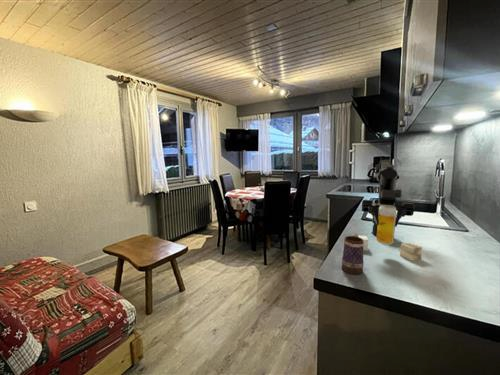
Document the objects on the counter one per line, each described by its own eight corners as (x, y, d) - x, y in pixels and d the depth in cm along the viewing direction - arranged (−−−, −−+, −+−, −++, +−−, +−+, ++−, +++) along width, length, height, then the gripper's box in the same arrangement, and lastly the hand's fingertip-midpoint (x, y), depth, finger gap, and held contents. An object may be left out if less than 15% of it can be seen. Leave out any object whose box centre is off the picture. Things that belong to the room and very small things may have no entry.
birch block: (408, 254, 96) (409, 242, 96) (420, 259, 91) (422, 247, 91) (399, 255, 95) (400, 244, 94) (411, 260, 90) (412, 248, 89)
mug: (361, 277, 77) (363, 242, 76) (339, 271, 81) (340, 238, 80) (365, 265, 86) (367, 234, 84) (345, 260, 90) (347, 230, 88)
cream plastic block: (365, 246, 104) (366, 236, 103) (367, 250, 99) (368, 239, 99) (353, 245, 106) (354, 234, 105) (354, 249, 101) (355, 238, 100)
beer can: (376, 238, 98) (379, 204, 96) (393, 241, 95) (396, 205, 93) (375, 243, 93) (378, 207, 91) (393, 246, 90) (396, 208, 88)
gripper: (363, 181, 98) (361, 212, 90) (416, 183, 90) (419, 217, 82) (362, 196, 106) (360, 225, 98) (411, 199, 98) (413, 232, 90)
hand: (386, 225), depth 92 cm, fingers closed on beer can, 6 cm apart
